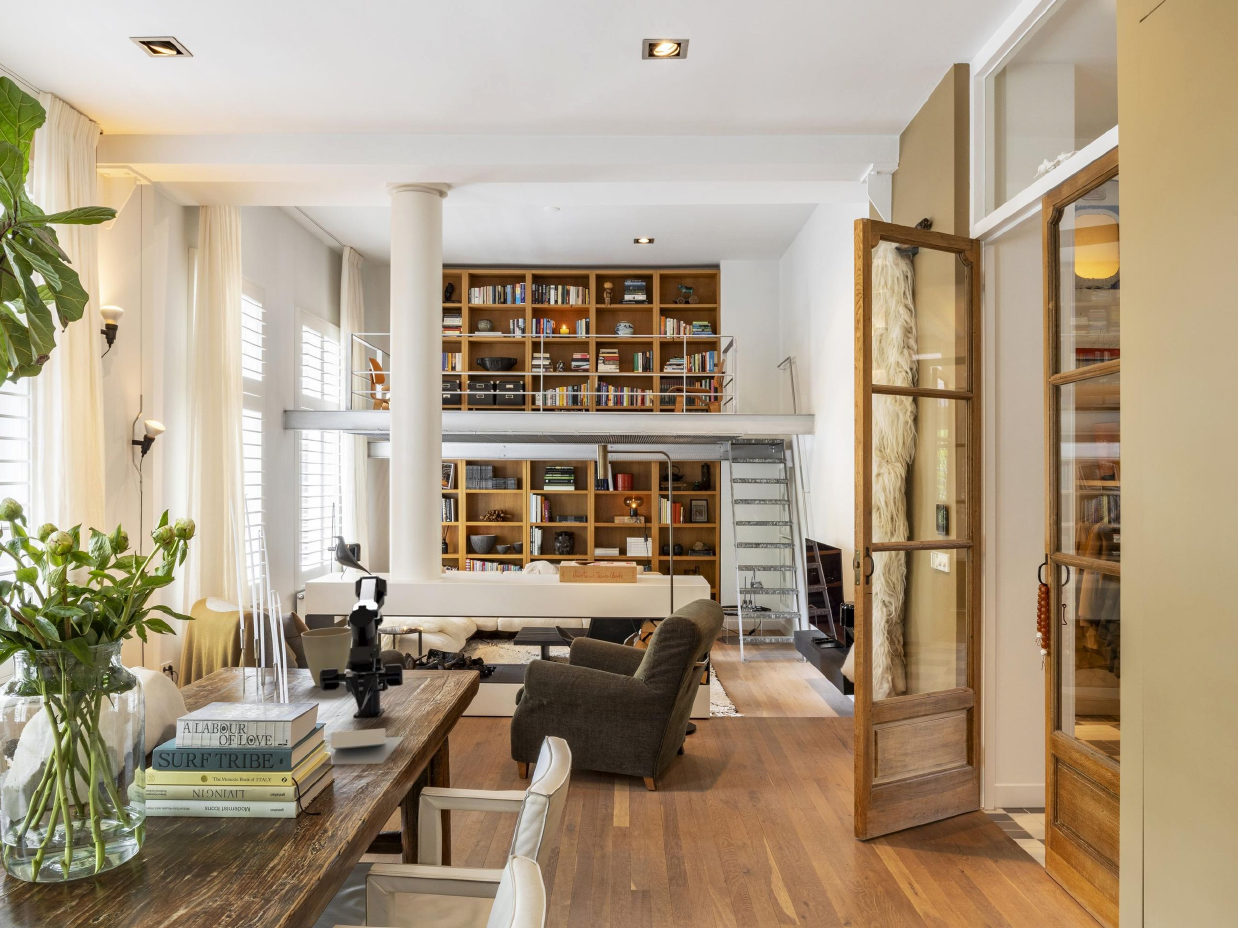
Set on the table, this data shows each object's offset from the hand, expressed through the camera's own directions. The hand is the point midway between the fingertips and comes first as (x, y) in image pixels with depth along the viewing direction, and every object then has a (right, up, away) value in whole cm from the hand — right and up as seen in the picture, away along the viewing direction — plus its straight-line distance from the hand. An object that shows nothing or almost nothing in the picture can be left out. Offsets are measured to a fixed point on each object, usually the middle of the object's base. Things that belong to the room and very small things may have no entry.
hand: (360, 708), depth 190 cm
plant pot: (-29, -11, +60) cm, 67 cm away
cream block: (0, -7, +1) cm, 7 cm away
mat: (+1, -9, -3) cm, 9 cm away
